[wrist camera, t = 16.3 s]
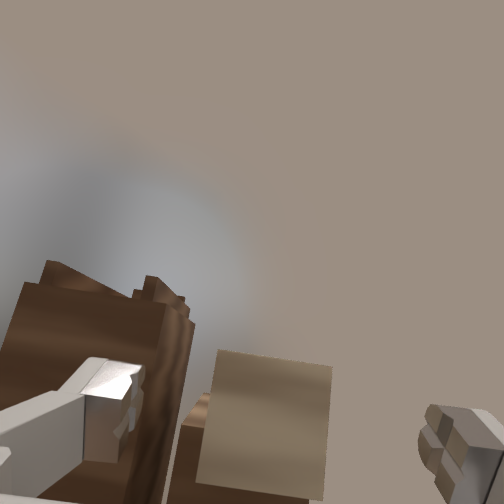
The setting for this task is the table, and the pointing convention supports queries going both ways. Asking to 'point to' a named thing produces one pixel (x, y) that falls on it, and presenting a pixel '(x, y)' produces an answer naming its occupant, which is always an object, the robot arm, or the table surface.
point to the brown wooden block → (109, 347)
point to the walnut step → (186, 465)
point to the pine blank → (266, 426)
